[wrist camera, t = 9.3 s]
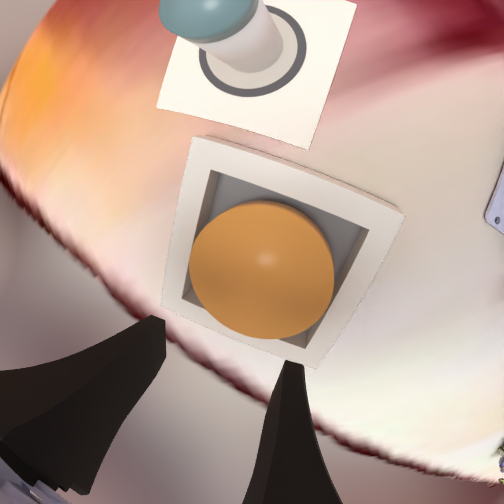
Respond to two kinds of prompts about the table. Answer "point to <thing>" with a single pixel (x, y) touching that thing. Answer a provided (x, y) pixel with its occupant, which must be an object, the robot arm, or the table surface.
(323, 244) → the button
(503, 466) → the passion flower
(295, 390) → the robot arm
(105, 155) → the table surface
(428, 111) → the table surface
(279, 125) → the paper sheet
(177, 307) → the button box
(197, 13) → the white cylindrical piece
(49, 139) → the table surface
